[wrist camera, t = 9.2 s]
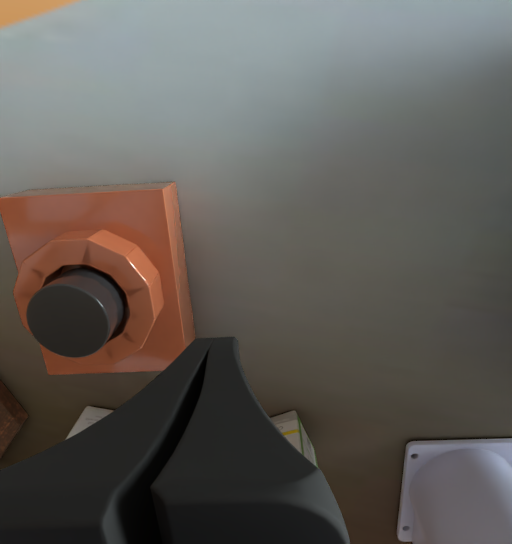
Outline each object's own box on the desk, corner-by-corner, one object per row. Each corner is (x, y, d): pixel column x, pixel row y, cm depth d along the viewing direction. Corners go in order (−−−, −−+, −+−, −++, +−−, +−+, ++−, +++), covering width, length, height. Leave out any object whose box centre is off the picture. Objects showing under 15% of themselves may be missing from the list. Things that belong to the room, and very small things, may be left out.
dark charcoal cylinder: (131, 333, 19) (116, 357, 17) (60, 336, 19) (37, 360, 17) (118, 265, 17) (100, 282, 16) (42, 269, 18) (15, 286, 16)
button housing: (196, 344, 24) (181, 391, 19) (71, 349, 24) (29, 396, 20) (175, 181, 20) (152, 194, 16) (29, 189, 20) (-33, 204, 16)
